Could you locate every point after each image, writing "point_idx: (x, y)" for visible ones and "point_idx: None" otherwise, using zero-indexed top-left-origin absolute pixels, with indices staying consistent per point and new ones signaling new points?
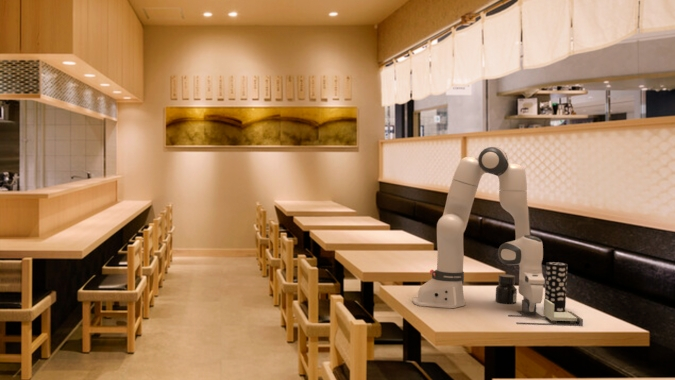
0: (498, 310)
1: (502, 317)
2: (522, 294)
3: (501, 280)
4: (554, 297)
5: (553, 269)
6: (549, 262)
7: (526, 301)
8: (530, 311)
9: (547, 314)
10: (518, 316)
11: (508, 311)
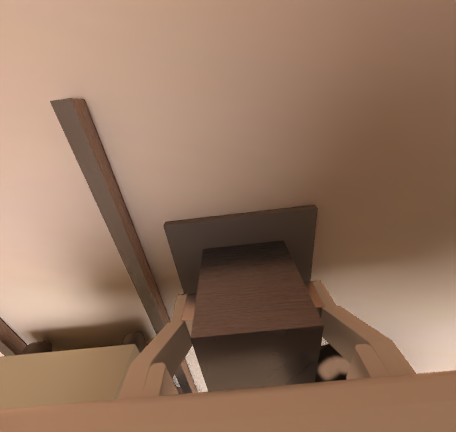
0: (359, 30)
1: (28, 25)
2: (407, 400)
3: None
4: None
5: None
6: None
7: (231, 348)
8: (179, 297)
9: (50, 371)
10: (98, 196)
11: (317, 142)
